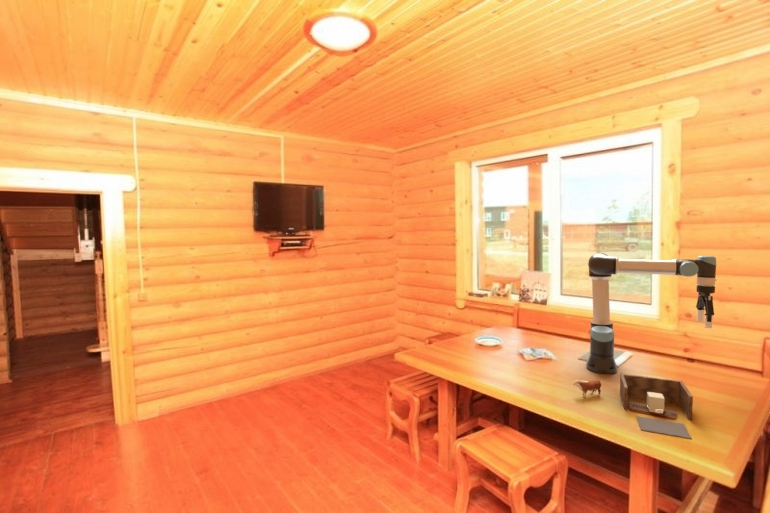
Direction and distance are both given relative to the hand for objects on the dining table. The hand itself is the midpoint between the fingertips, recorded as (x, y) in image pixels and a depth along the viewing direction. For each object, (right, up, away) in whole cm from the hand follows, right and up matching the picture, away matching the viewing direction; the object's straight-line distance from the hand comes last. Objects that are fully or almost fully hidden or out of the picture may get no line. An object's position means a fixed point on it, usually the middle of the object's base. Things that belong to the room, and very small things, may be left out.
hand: (704, 324), depth 206 cm
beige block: (-52, -31, -37) cm, 71 cm away
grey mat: (-59, -32, -51) cm, 84 cm away
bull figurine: (-73, -30, -21) cm, 82 cm away
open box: (-50, -31, -33) cm, 67 cm away
